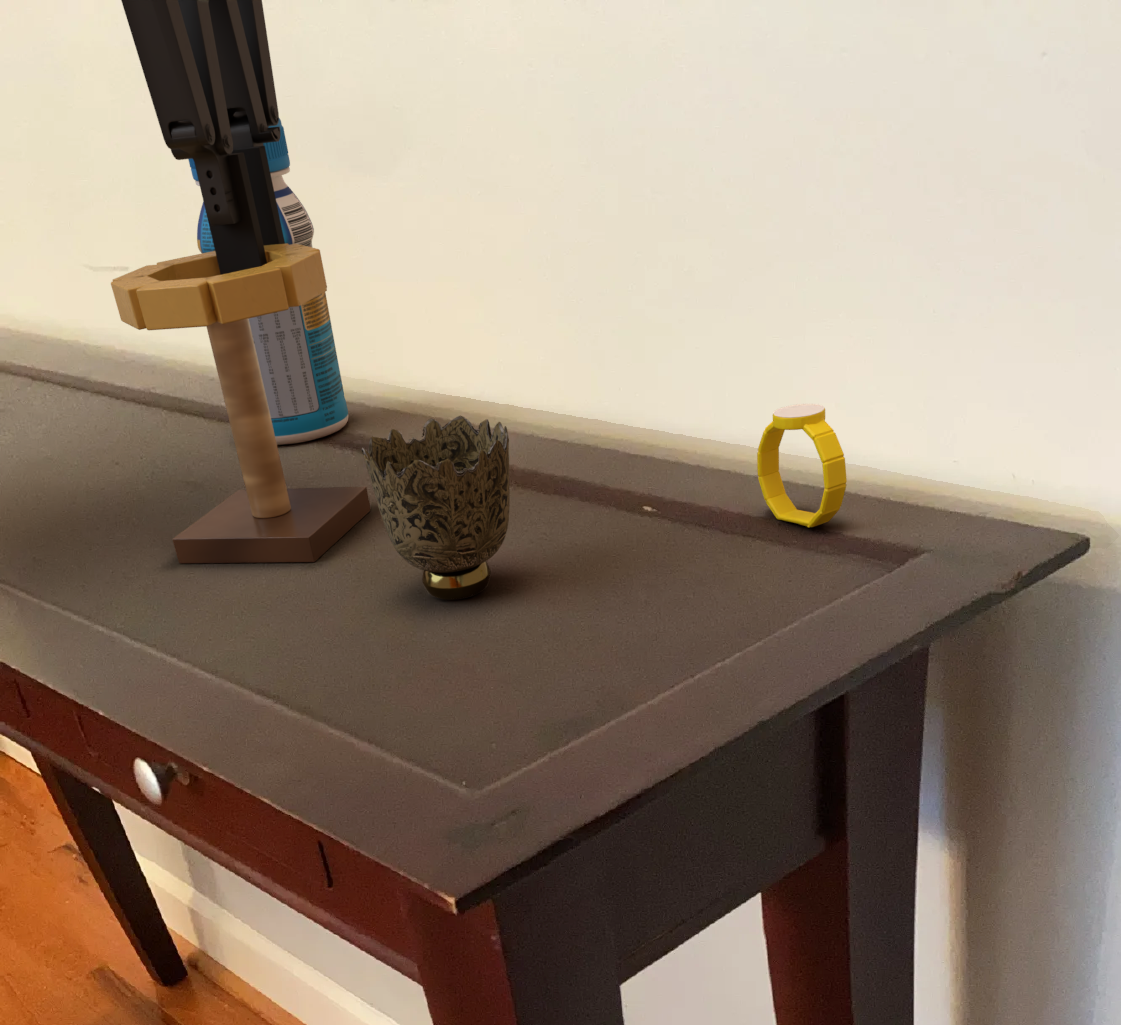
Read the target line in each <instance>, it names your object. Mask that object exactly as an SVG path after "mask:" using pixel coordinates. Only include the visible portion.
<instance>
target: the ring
mask: <svg viewBox="0 0 1121 1025" xmlns="http://www.w3.org/2000/svg"><path fill="white" fill-rule="evenodd" d="M264 250H265V255H266V260H267V264H265V265H263V266H260V267H255V268H251V269H246V270H241V271H236V272H232V273H227V274H222V275H221V274H220V269H219V265H218V261H217V257H216V252H215V251H212V252H207V253H198V254H197V253H196V254H193V255H188V256H183V257H178V258H172V259H167V260H163V261H158V262H156V264H148V265H147V264H146V265H145V266H142V267H138V268H137V269H135V270H132V271H130V272H128V273H124V274H123V275H120V276H118V277H115V278H113V279H112V281H111V282H110V286H111V289H112V293H113V296H114V299H115V303H116V306H117V307H116V308H117V311H118V315H119V318H120V321H121V322H123V323H125V324H127V325H128V326H131V327H132V328H134V329H136V330H139V331H140V330H145V329H146V330H147V331H160V330H174V329H187V328H188V329H189V328H202V327H204V328H205V327H206V326H210V325H212V324H214V323H216V322H219V323H221V324H226V323H231V322H235V321H240V320H244V319H248V318H253V317H257V316H262V315H266V314H271V313H275V312H280V311H284V310H288V309H289V307H296V306H300V305H302V304H304V303H306V302H307V301H309V300H311V299H313V298H315V297H317V296H318V295H320V294H322V293H324V292H325V293H326V292H328V285H327V279H326V275H325V274H326V273H325V269H324V265H323V260H322V254H321V250H320V249H319V248H315V247H313V246H312V247H308V246H304V245H300V244H291V245H289V244H288V243H286V244H275V245H264ZM206 328H207V327H206Z"/></svg>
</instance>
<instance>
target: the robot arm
mask: <svg viewBox="0 0 1121 1025" xmlns="http://www.w3.org/2000/svg"><path fill="white" fill-rule="evenodd" d="M120 1H121V4H122V8H123V11H124V14H125V17H126V20H127V23H128V27H129V30H130V33H131V38H132V40H133V43H134V46H135V49H136V50H135V51H136V54H137V56H138V60H139V63H140V66H141V70H142V73H143V75H144V80H145V83H146V86H147V88H148V92H149V95H150V98H151V101H152V105H153V108H154V112H155V115H156V119H157V121H158V125H159V128H160V132H161V134H162V137H163V140H164V143H165V145H166V147H167V148H168V149H169V150H170V152H171V154H172V157H173V158H174V159H175V160H177V161H181V160H182V161H183V160H188V159H193V160H194V163H195V167H196V172H197V176H198V180H199V184H200V186H199V188H200V192H201V197H202V202H203V201H204V206H205V210H206V214H207V218H208V223H209V227H210V231H211V235H212V240H213V244H214V248H215V252H216V257H217V261H218V265H219V269H220V274H221V275H222V274H227V273H232V272H236V271H241V270H246V269H251V268H255V267H260V266H263V265H265V264H267V260H266V255H265V250H264V245H275V244H285V241H284V236H283V232H282V227H281V222H280V217H279V212H278V208H277V203H276V198H275V193H274V188H273V183H272V179H271V174H270V169H269V164H268V159H267V154H266V150H265V146H263V143H269V142H278V141H279V140H280V136H281V135H280V127H271V128H268V127H269V126H275V125H277V124H278V122H279V118H280V114H279V108H278V107H279V106H278V101H277V94H276V86H275V80H274V72H273V66H272V60H271V52H270V46H269V39H268V32H267V25H266V19H265V18H266V17H265V12H264V5H263V0H120Z"/></svg>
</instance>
